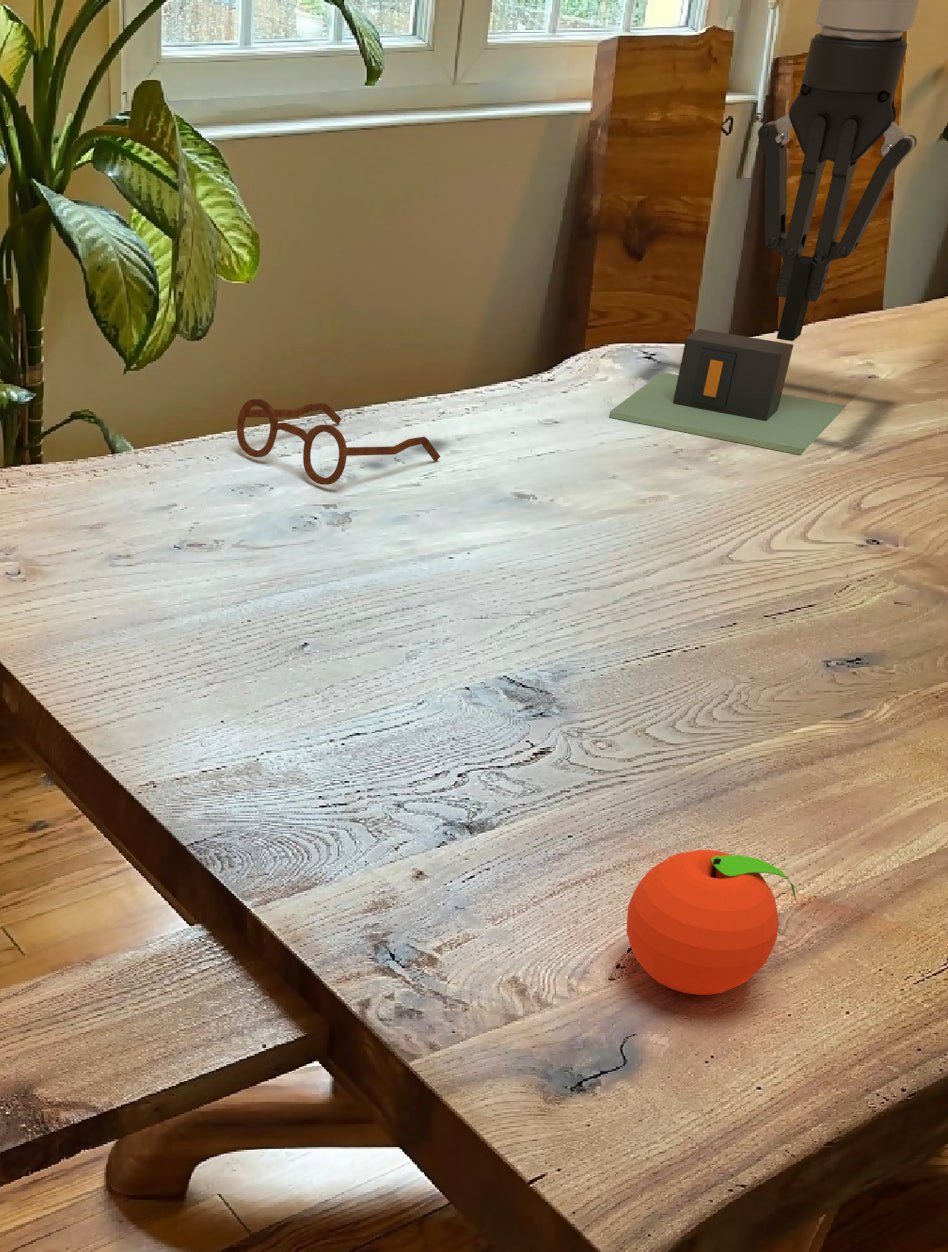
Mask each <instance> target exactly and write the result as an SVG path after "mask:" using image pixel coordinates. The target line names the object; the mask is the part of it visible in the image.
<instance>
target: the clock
mask: <svg viewBox="0 0 948 1252" xmlns="http://www.w3.org/2000/svg"><path fill="white" fill-rule="evenodd" d="M793 349H794V344H792V343H787V342H781V341H780V342H779V341H774V340H768V339H762V338H756V337H750V336H745V335H739V334H732V333H728V332H727V333H726V332H720V331H714V330H708V329H703V328H698V329H697V330H696V331H694V332H693V333H692V334H690V335H689V336H687V337H686V338H685V341H684V346H683V350H682V356H681V360H680V366H679V371H678V374H677V375H678V380H677V385H676V390H675V395H674V400H673V404H677V405H683V406H688V407H693V408H699V409H704V410H709V411H715V412H720V413H725V414H731V415H736V416H741V417H746V418H752V419H757V420H762V421H767V420H768V419H769V418H770V417H771V416H772V415H773V414H774V413H775V412H776V411H777V410H778V407H779V403H780V398H781V394H783V391H784V386H785V381H786V377H787V374H788V370H789V367H790V366H789V365H790V361H791V358H792V357H791V356H792V353H793Z"/></svg>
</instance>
